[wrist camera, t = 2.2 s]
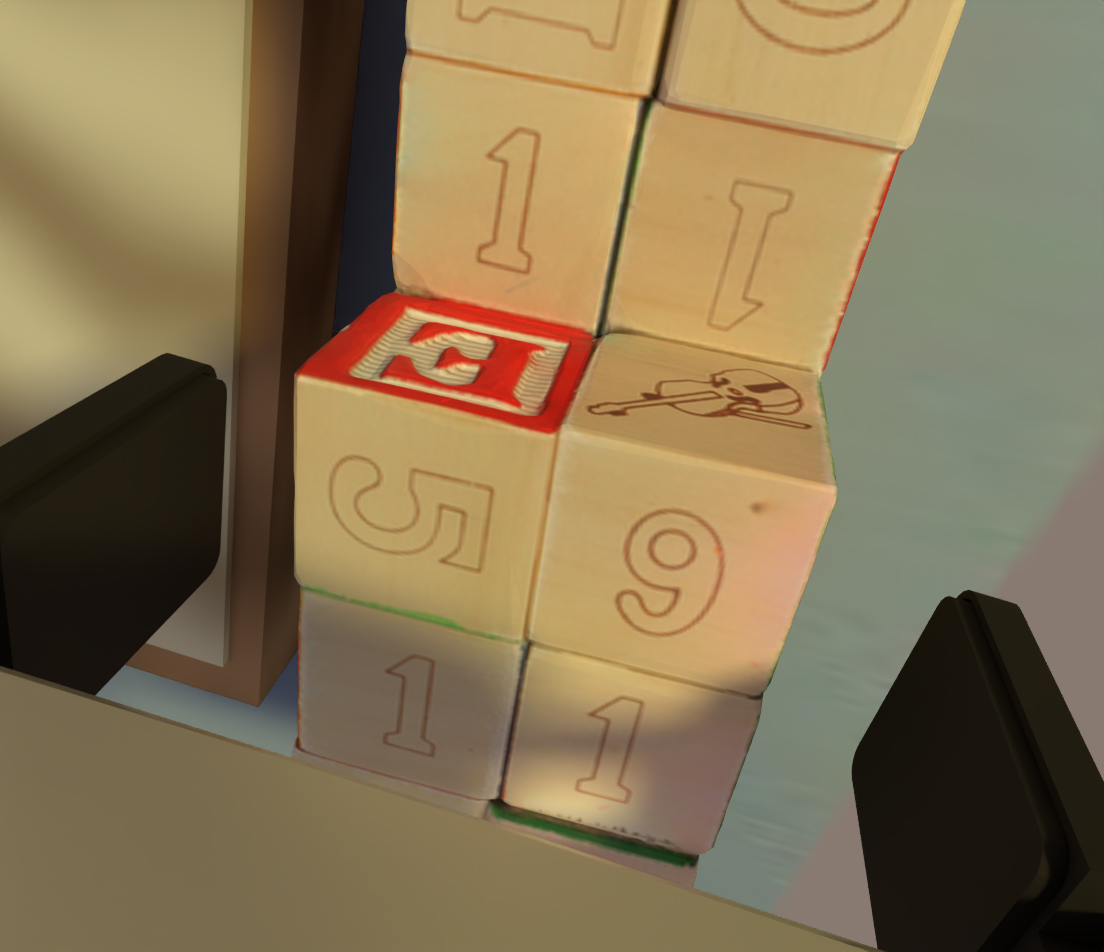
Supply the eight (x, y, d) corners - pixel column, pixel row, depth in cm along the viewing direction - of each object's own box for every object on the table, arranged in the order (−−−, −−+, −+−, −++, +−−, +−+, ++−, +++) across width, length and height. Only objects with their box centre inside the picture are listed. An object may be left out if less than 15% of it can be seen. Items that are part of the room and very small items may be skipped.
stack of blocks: (605, -359, 15) (294, -1155, 5) (961, -300, 15) (1508, -1054, 4) (465, 587, 26) (274, 989, 16) (669, 640, 26) (616, 1094, 15)
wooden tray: (-75, -655, 15) (-264, -806, 12) (416, -542, 15) (338, -674, 12) (47, 562, 29) (-30, 624, 26) (302, 642, 28) (253, 714, 25)
